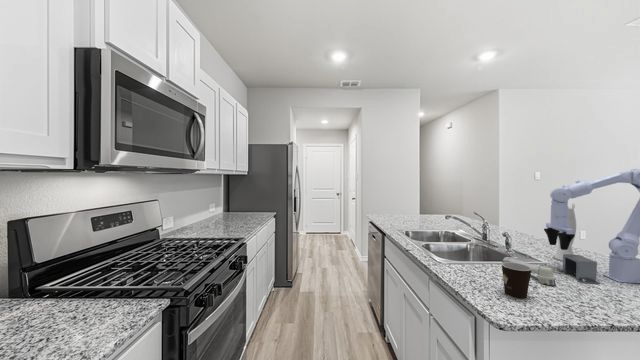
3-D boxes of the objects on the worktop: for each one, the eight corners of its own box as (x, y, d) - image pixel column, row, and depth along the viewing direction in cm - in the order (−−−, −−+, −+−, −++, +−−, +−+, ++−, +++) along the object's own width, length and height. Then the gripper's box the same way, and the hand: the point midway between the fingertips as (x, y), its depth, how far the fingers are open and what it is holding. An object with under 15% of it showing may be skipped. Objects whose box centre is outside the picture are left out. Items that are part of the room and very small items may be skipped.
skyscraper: (581, 263, 134) (583, 203, 133) (564, 263, 134) (566, 203, 133) (566, 257, 142) (568, 201, 141) (549, 257, 142) (551, 201, 141)
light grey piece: (511, 256, 133) (559, 266, 108) (512, 270, 132) (560, 285, 107) (500, 256, 132) (545, 267, 107) (501, 271, 132) (547, 285, 107)
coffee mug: (532, 302, 94) (532, 272, 94) (501, 296, 99) (501, 267, 98) (528, 289, 104) (529, 262, 104) (500, 284, 109) (501, 258, 108)
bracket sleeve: (574, 271, 123) (574, 253, 123) (601, 284, 109) (602, 264, 109) (557, 270, 124) (557, 252, 124) (581, 283, 110) (582, 263, 110)
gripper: (539, 213, 132) (538, 242, 133) (559, 218, 118) (558, 251, 118) (556, 213, 131) (555, 243, 131) (579, 219, 117) (578, 252, 117)
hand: (558, 247), depth 125 cm, fingers open, 7 cm apart
